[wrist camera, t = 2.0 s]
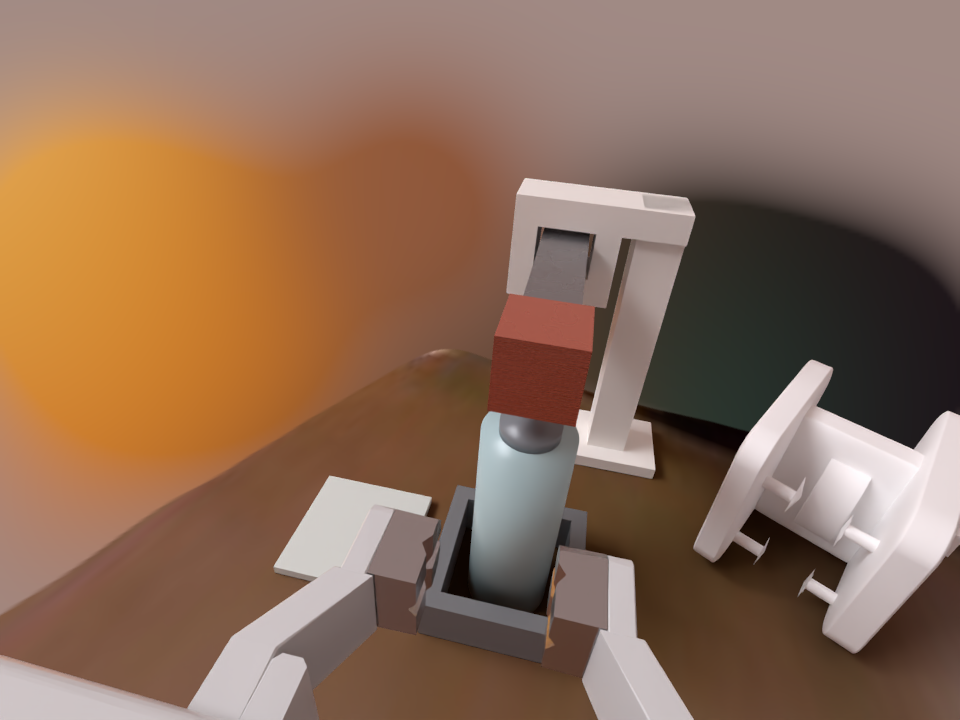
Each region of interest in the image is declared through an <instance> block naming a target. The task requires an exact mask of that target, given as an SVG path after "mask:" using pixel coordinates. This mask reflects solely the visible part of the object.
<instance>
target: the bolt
mask: <svg viewBox="0 0 960 720" xmlns="http://www.w3.org/2000/svg"><path fill="white" fill-rule="evenodd" d="M589 235H590V233H584V232H576V231H569V230H562V229H554V228H547V227H545V229H544V232H543V235H542V239H541V241H540V244H539V247H538V251H537V254H536V257H535V260H534V263H533V266H532V269H531V273H530V276H529V279H528V282H527V285H526V288H525V291H524V295H523V296H522V295H516V294H510V295H509V298H508V300H507V303H506V306H505V309H504V311H503V314H502V317H501V319H500V322H499V325H498V328H497V330H496V333H495V336H494V346H493V356H492V367H491V378H490V388H489V399H488V410H487V411H492V412H497V413H503V414H508V415H513V416H519V417H524V418H529V419H535V420H540V421H546V422H551V423H556V424H562V425H567V426H573V427H576V423H577V418H578V413H579V409H580V404H581V400H582V395H583V391H584V386H585V381H586V377H587V373H588V368H589V363H590V359H591V355H592V346H593V329H594V310H595V307H594V306H587V305H583V295H584V285H585V275H586V265H587V256H588V245H589Z"/></svg>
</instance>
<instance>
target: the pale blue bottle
mask: <svg viewBox="0 0 960 720" xmlns="http://www.w3.org/2000/svg"><path fill="white" fill-rule="evenodd" d="M578 446H579V433H578V430H577V428H576V427H573V426H567V425H562V424H556V423H551V422H546V421H540V420H535V419H529V418H524V417H519V416H513V415H508V414H503V413H497V412H492V411H490V412H489V413H488V414H487V415H486V416H485V418H484V419H483V422H482V425H481V434H480V445H479V457H478V468H477V480H476V491H475V502H474V514H473V525H472V537H471V548H470V560H469V571H468V589H469V592H470V595H471V597H472V599H473V600H477V601H481V602H486V603H490V604H494V605H498V606H502V607H507V608H511V609H515V610H519V611H524V612H528V613H532V612H534V611H535V610H536V609H537V608H538V606H539V605H540V603H541V602H542V599H543V597H544V593H545V588H546V584H547V580H548V575H549V571H550V567H551V563H552V558H553V554H554V550H555V545H556V541H557V537H558V532H559V528H560V524H561V520H562V515H563V511H564V507H565V502H566V498H567V494H568V489H569V485H570V481H571V476H572V472H573V468H574V464H575V459H576V455H577V451H578Z"/></svg>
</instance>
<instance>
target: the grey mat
mask: <svg viewBox="0 0 960 720" xmlns="http://www.w3.org/2000/svg"><path fill="white" fill-rule="evenodd" d="M374 504H376V505H380V506H385V507H389V508H394V509H398V510H402V511H406V512H410V513H414V514H418V515H422V516H427V513H428V511H429V508H430V505H431V497H428V496H423V495H418V494H413V493H409V492H404V491H399V490H394V489H390V488H385V487H380V486H376V485H371V484H366V483H361V482H357V481H352V480H347V479H343V478H338V477H333V476H329V478H328V479H327V481H326V482H325V484H324V486H323V487H322V489H321V491H320V492H319V494H318V495H317V497H316V499H315V500H314V502H313V504H312V505H311V507H310V508H309V510H308V512H307V513H306V515H305V517H304V518H303V520H302V521H301V523H300V525H299V526H298V528H297V530H296V531H295V533H294V534H293V536H292V538H291V539H290V541H289V543H288V544H287V546H286V547H285V549H284V551H283V552H282V554H281V556H280V557H279V559H278V560H277V562H276V564H275V565H274V571H275V573H279V574H283V575H287V576H291V577H296V578H300V579H304V580H308V581H313V580H315V579H316V578H318V577H319V576H321V575H322V574H324V573H325V572H327V571H328V570H330V569H331V568H332V567H334V566H336V567H341V566H342V564H343V562H344V560H345V558H346V556H347V554H348V552H349V550H350V548H351V546H352V544H353V542H354V540H355V538H356V536H357V534H358V532H359V530H360V528H361V526H362V524H363V522H364V520H365V518H366V516H367V514H368V512H369V510H370V509H371V508H372V507H373V506H374Z"/></svg>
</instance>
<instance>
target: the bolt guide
mask: <svg viewBox="0 0 960 720" xmlns="http://www.w3.org/2000/svg"><path fill="white" fill-rule="evenodd" d="M694 220H695V214H694V212H693V210H692V207H691V205H690V202H689V200H688V198H684V197H676V196H668V195H658V194H651V193H642V192H635V191H627V190H618V189H610V188H602V187H593V186H586V185H577V184H569V183H561V182H552V181H545V180H537V179H528V178H525V179H524V181H523V183H522V185H521V187H520V189H519V191H518V192H517V196H516V205H515V214H514V224H513V234H512V244H511V253H510V264H509V272H508V282H507V292H506V293H510V294H516V295H524V291H525V288H526V285H527V282H528V279H529V276H530V273H531V269H532V266H533V263H534V260H535V257H536V254H537V251H538V247H539V244H540V236H541V229H542V227H547V228H554V229H562V230H569V231H576V232H584V233H592V234H594V238H593V243H592V248H591V253H590V257H587V265H586V275H585V285H584V295H583V305H588V306H595V307H602V308H606V305H607V301H608V296H609V292H610V287H611V283H612V279H613V274H614V270H615V266H616V261H617V257H618V252H619V248H620V243H621V239H622V238H628V239H632V240H631V244H630V248H629V252H628V257H627V261H626V265H625V269H624V273H623V278H622V282H621V286H620V290H619V295H618V299H617V303H616V307H615V311H614V316H613V320H612V324H611V328H610V332H609V337H608V341H607V345H606V349H605V353H604V358H603V362H602V366H601V370H600V375H599V379H598V383H597V387H596V391H595V396H594V400H593V404H592V408H591V412H590V411H585V410H579V413H578V418H577V423H576V428H577V430H578V433H579V446H578V451H577V455H576V459H575V464H578V465H584V466H589V467H594V468H599V469H604V470H609V471H614V472H619V473H625V474H630V475H635V476H640V477H645V478H650V479H652V478H653V476H654V473H655V461H654V451H653V440H652V430H651V422H645V421H640V420H634V419H633V417H634V414H635V411H636V407H637V404H638V400H639V397H640V394H641V391H642V387H643V384H644V381H645V377H646V374H647V371H648V367H649V364H650V361H651V357H652V354H653V351H654V347H655V343H656V341H657V337H658V334H659V330H660V327H661V324H662V321H663V317H664V314H665V310H666V307H667V304H668V301H669V297H670V294H671V290H672V287H673V284H674V280H675V277H676V274H677V270H678V267H679V264H680V260H681V257H682V254H683V250H684V247H685V246H687V243H688V240H689V236H690V233H691V230H692V226H693V223H694Z"/></svg>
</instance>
